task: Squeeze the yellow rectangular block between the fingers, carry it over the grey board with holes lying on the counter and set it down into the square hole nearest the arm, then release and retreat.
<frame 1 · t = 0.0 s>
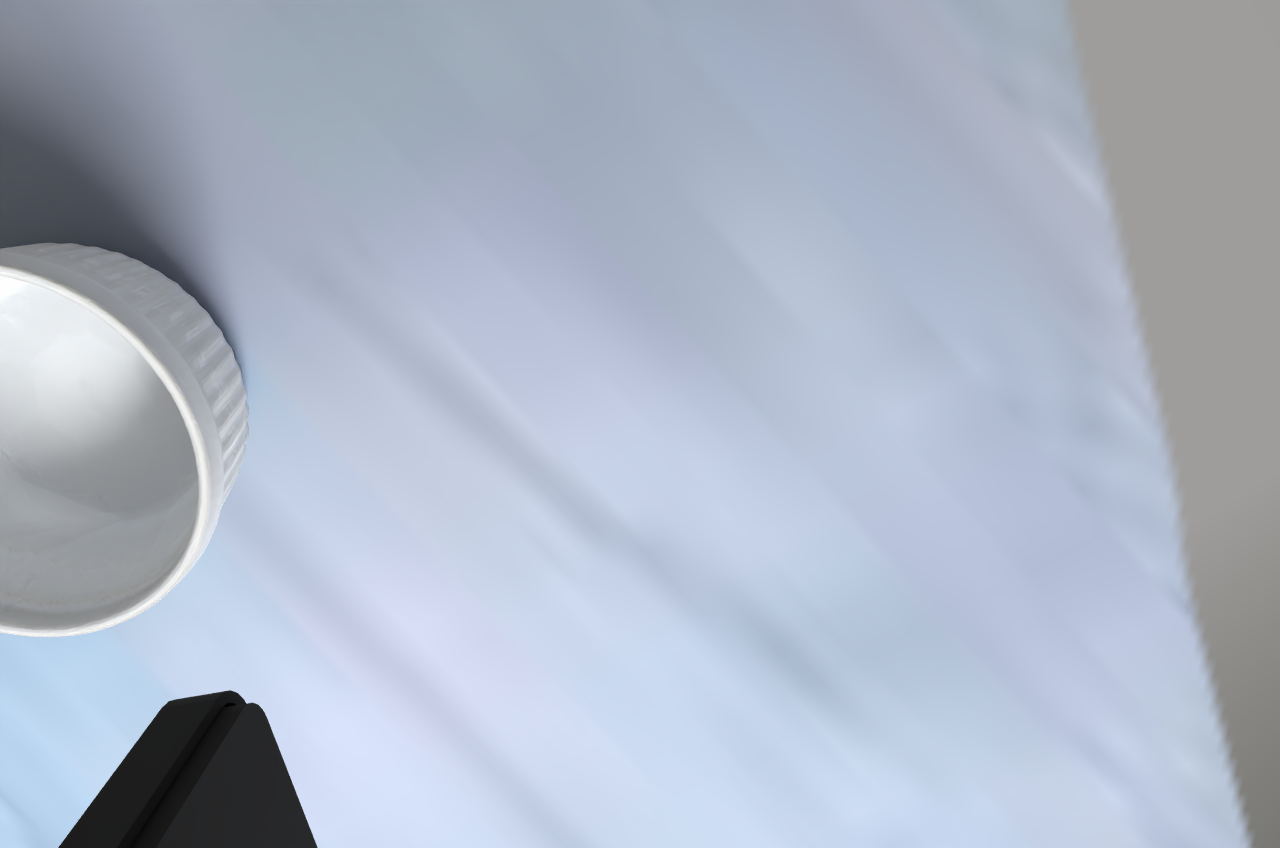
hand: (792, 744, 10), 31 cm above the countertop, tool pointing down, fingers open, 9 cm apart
ramekin: (109, 389, 43), on the countertop
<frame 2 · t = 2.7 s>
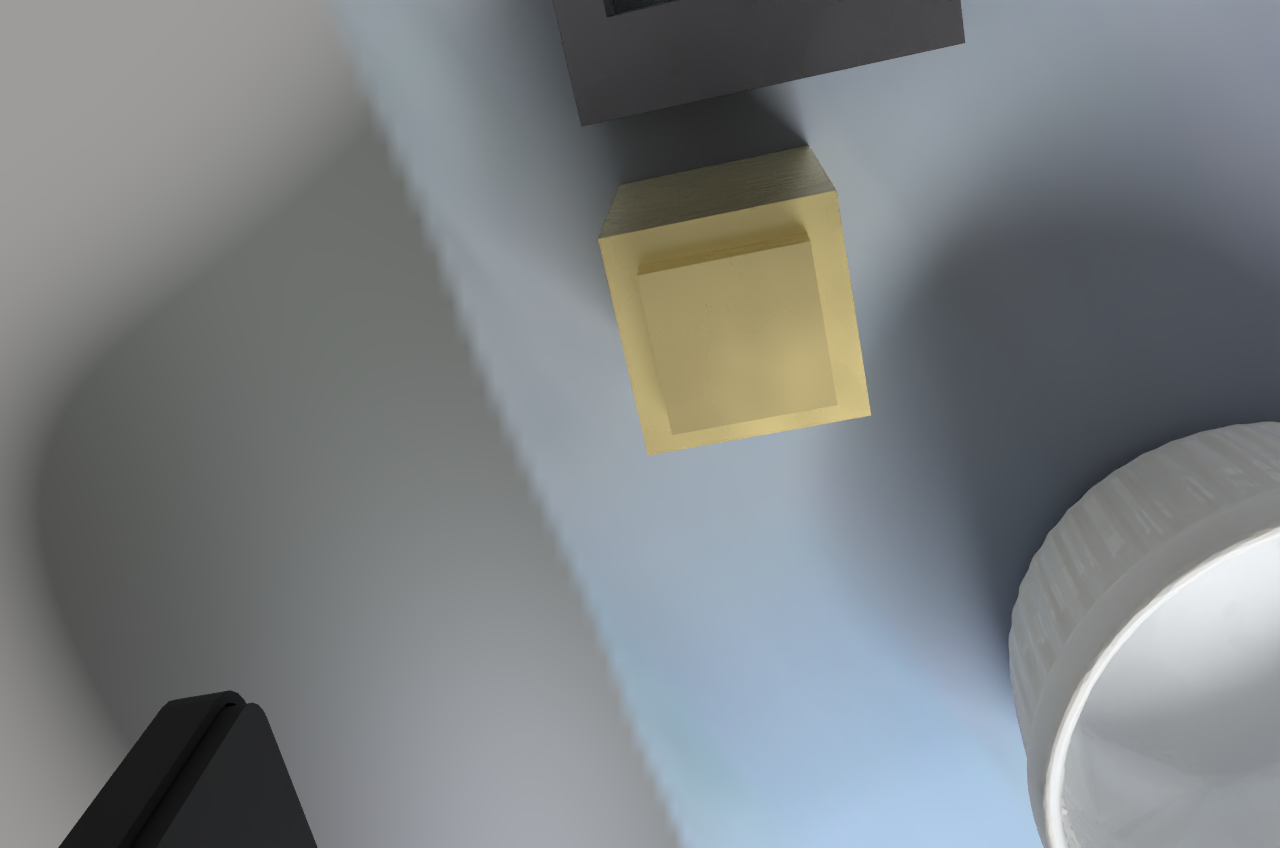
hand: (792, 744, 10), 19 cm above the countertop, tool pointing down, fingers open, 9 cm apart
ramekin: (1219, 607, 31), on the countertop
yellow rectangular block: (730, 257, 28), on the countertop
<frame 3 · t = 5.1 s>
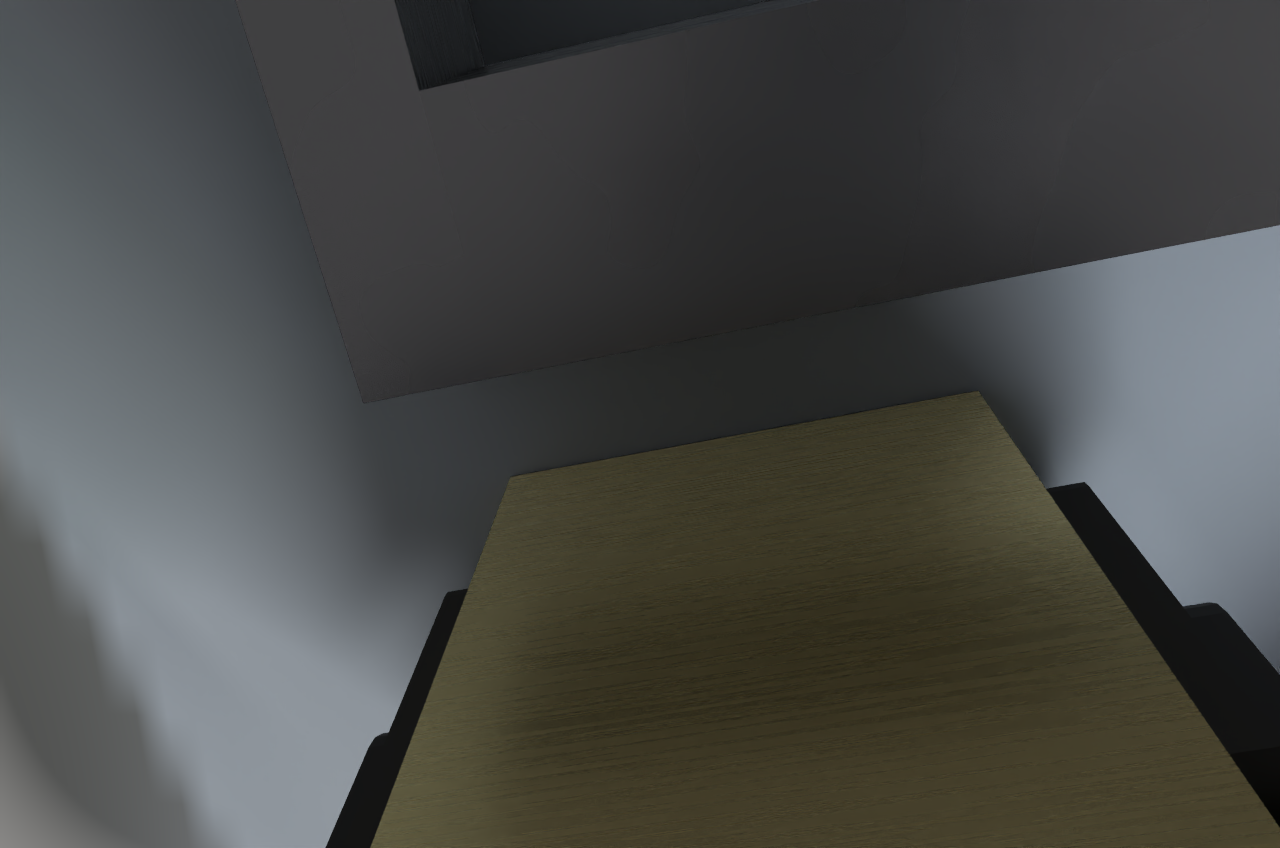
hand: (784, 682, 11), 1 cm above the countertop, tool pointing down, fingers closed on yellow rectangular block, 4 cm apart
yellow rectangular block: (779, 636, 12), on the countertop, touching gripper
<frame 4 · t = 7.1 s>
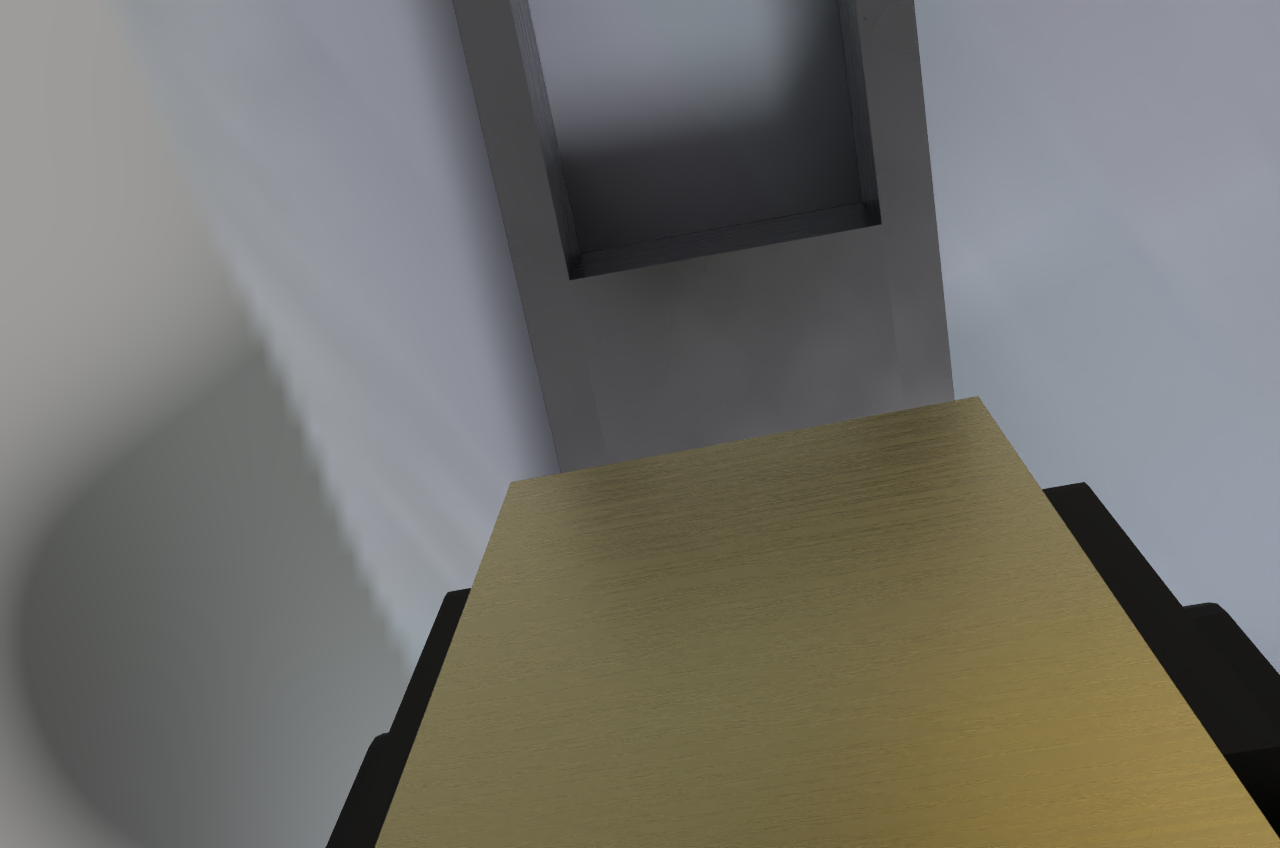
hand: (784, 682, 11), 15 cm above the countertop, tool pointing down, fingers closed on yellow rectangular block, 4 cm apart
grey board with holes: (734, 319, 25), on the countertop
yellow rectangular block: (779, 641, 12), point 14 cm above the countertop, touching gripper
when the fingers open (3 cm above the countertop, at t = 9.5 s): yellow rectangular block drops 3 cm, resting in grey board with holes.
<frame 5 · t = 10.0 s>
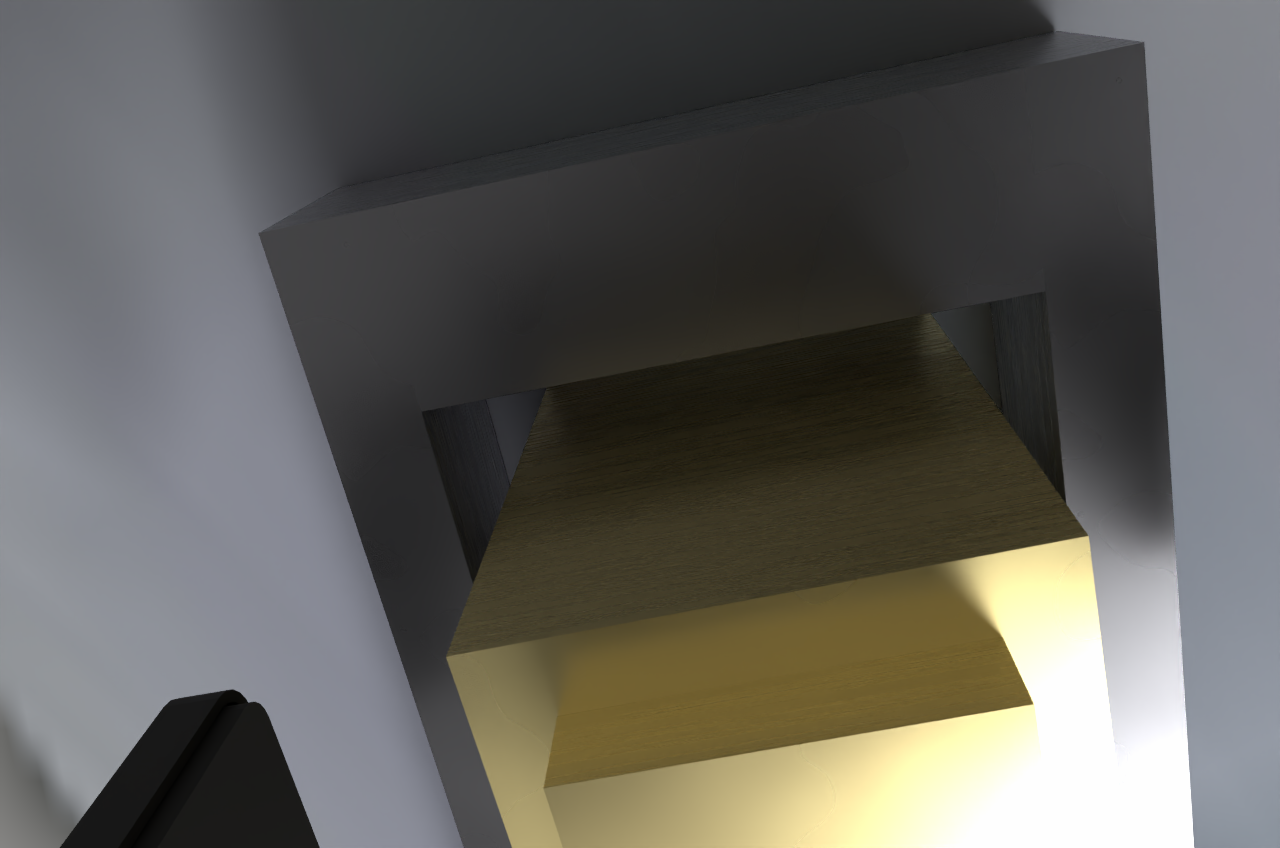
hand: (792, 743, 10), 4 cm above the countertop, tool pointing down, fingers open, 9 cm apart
grey board with holes: (827, 840, 16), on the countertop
yellow rectangular block: (769, 514, 14), resting in grey board with holes
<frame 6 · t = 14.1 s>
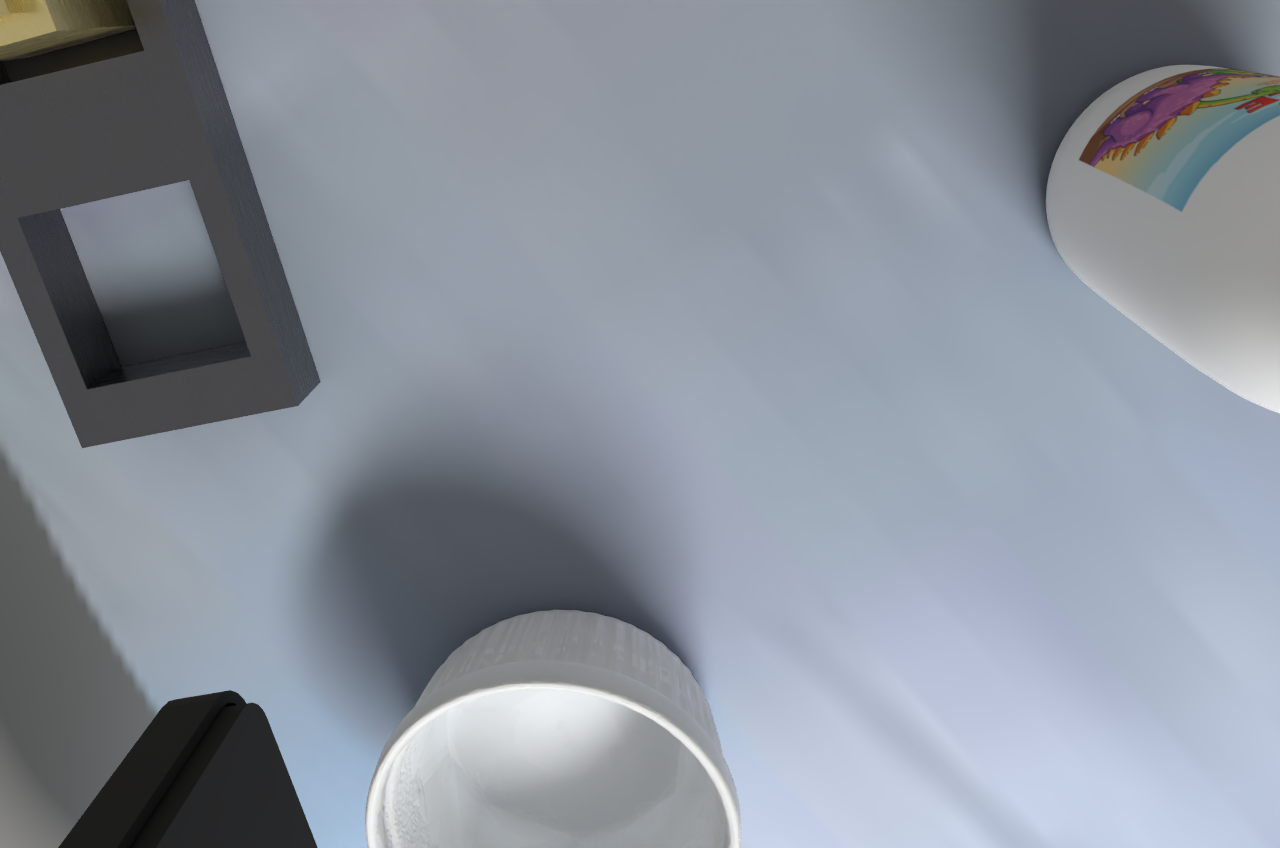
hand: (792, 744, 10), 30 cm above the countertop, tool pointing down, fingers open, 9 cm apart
ramekin: (572, 720, 47), on the countertop
milk bottle: (1157, 184, 38), on the countertop
grey board with holes: (116, 127, 39), on the countertop
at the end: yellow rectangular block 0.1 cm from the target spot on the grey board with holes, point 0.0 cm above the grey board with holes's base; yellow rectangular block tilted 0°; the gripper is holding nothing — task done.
